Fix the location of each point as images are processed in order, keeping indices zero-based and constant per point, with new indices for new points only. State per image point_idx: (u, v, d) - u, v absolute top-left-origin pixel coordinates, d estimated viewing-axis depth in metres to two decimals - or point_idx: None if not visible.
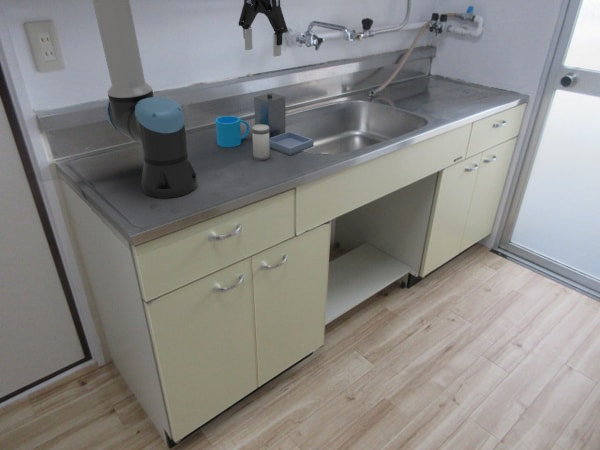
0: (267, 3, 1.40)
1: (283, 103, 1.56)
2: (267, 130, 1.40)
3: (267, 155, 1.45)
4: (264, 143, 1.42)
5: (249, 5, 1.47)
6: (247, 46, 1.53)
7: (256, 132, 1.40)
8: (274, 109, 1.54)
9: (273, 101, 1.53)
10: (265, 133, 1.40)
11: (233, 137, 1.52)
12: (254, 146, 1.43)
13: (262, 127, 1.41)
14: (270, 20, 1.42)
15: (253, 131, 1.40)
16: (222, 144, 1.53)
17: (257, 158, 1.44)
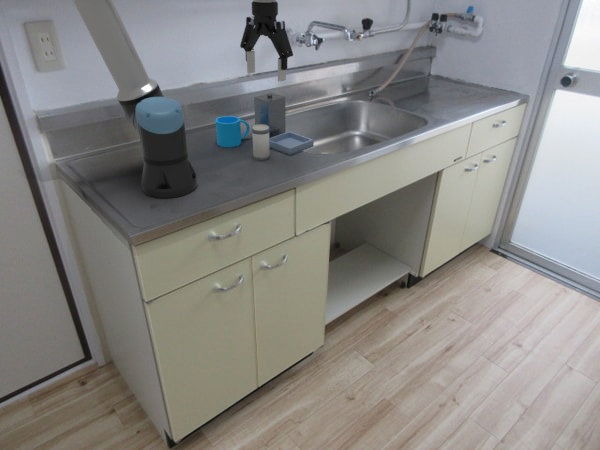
0: (271, 25, 1.31)
1: (283, 103, 1.56)
2: (267, 130, 1.40)
3: (267, 155, 1.45)
4: (264, 143, 1.42)
5: (252, 26, 1.38)
6: (249, 69, 1.44)
7: (256, 132, 1.40)
8: (274, 109, 1.54)
9: (273, 101, 1.53)
10: (265, 133, 1.40)
11: (233, 137, 1.52)
12: (254, 146, 1.43)
13: (262, 127, 1.41)
14: (274, 43, 1.32)
15: (253, 131, 1.40)
16: (222, 144, 1.53)
17: (257, 158, 1.44)
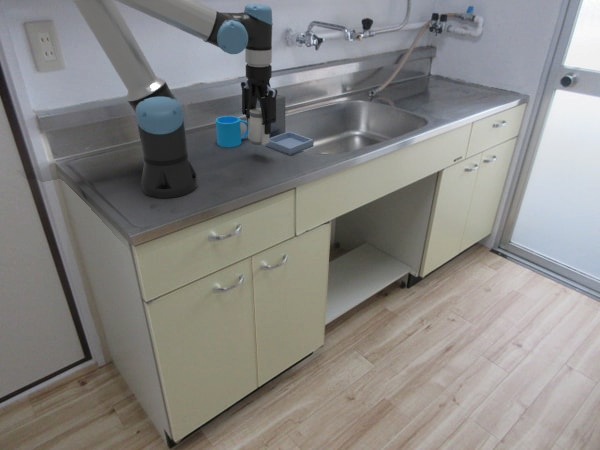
0: (263, 89, 1.32)
1: (283, 103, 1.56)
2: None
3: None
4: None
5: (248, 90, 1.39)
6: None
7: (254, 115, 1.37)
8: None
9: None
10: None
11: (233, 137, 1.52)
12: (251, 130, 1.40)
13: (260, 110, 1.38)
14: (262, 108, 1.35)
15: (251, 114, 1.37)
16: (222, 144, 1.53)
17: (254, 142, 1.41)
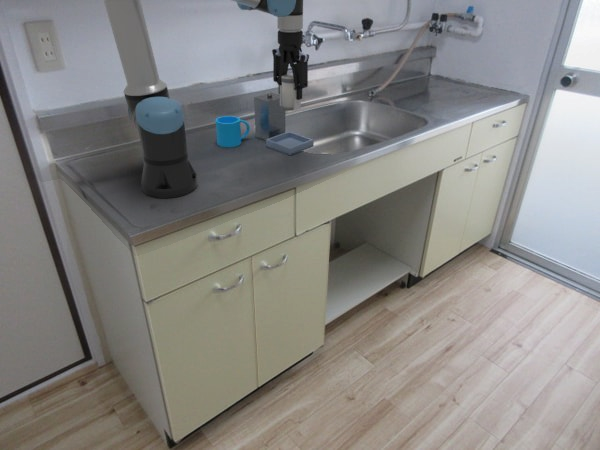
0: (295, 54, 1.36)
1: None
2: None
3: None
4: None
5: (279, 57, 1.43)
6: None
7: (286, 81, 1.41)
8: (274, 109, 1.54)
9: (273, 101, 1.53)
10: None
11: (233, 137, 1.52)
12: (283, 96, 1.44)
13: (291, 76, 1.42)
14: (294, 73, 1.40)
15: (283, 80, 1.42)
16: (222, 144, 1.53)
17: (286, 108, 1.46)
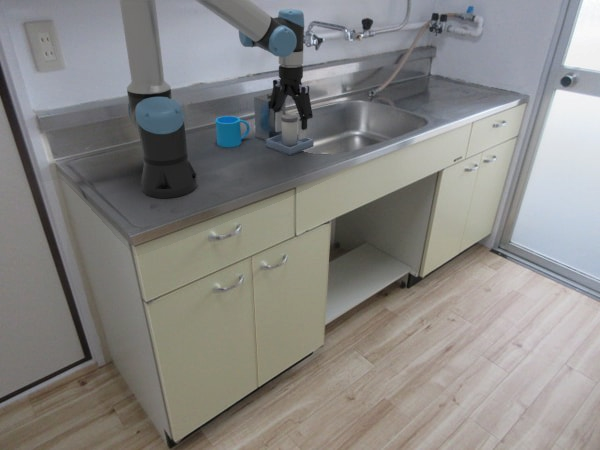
0: (296, 88, 1.41)
1: None
2: (296, 118, 1.48)
3: (295, 142, 1.52)
4: (293, 131, 1.50)
5: (278, 88, 1.48)
6: (278, 128, 1.54)
7: (286, 120, 1.48)
8: None
9: None
10: (294, 122, 1.48)
11: (233, 137, 1.52)
12: (283, 134, 1.51)
13: (291, 116, 1.49)
14: (297, 105, 1.43)
15: (283, 119, 1.48)
16: (222, 144, 1.53)
17: (286, 145, 1.52)
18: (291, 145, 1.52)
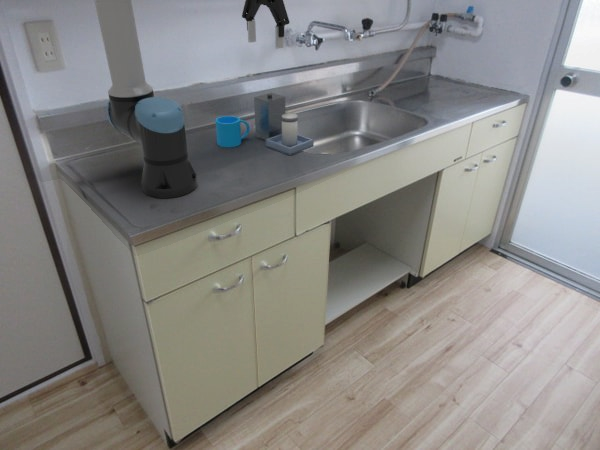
0: None
1: (283, 103, 1.56)
2: (296, 118, 1.48)
3: (295, 142, 1.52)
4: (293, 131, 1.50)
5: None
6: (250, 38, 1.53)
7: (286, 120, 1.48)
8: (274, 109, 1.54)
9: (273, 101, 1.53)
10: (294, 121, 1.48)
11: (233, 137, 1.52)
12: (283, 134, 1.51)
13: (291, 115, 1.49)
14: (272, 12, 1.41)
15: (283, 119, 1.48)
16: (222, 144, 1.53)
17: (286, 145, 1.52)
18: (291, 145, 1.52)
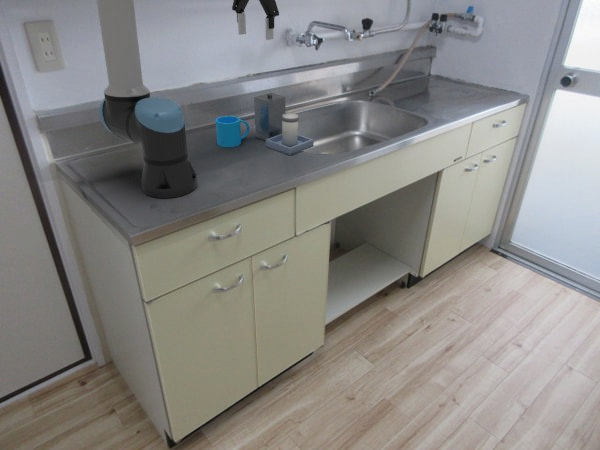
0: None
1: (283, 103, 1.56)
2: (296, 118, 1.48)
3: (295, 143, 1.52)
4: (293, 131, 1.50)
5: None
6: (241, 30, 1.56)
7: (286, 120, 1.48)
8: (274, 109, 1.54)
9: (273, 101, 1.53)
10: (294, 122, 1.48)
11: (233, 137, 1.52)
12: (283, 133, 1.51)
13: (292, 116, 1.49)
14: (262, 4, 1.44)
15: (283, 119, 1.48)
16: (222, 144, 1.53)
17: (285, 145, 1.52)
18: (291, 145, 1.52)
